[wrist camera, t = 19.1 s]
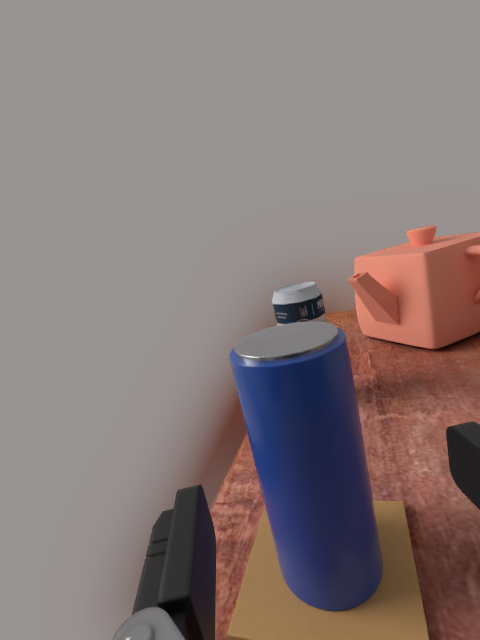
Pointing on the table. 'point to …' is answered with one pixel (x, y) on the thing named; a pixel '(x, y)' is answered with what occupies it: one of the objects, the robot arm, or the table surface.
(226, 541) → the table surface
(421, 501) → the table surface
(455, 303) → the teapot
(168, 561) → the robot arm
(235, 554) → the table surface
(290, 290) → the beer can
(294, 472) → the blue can
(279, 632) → the coaster
